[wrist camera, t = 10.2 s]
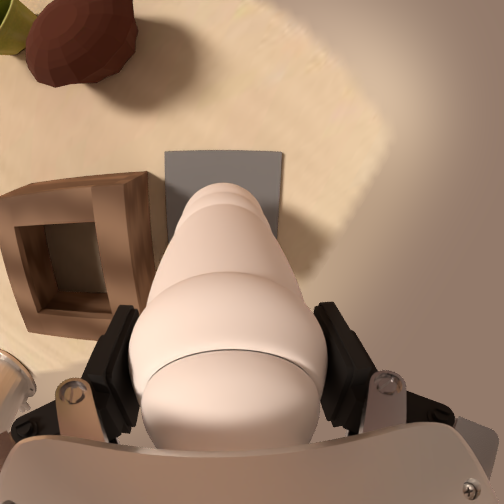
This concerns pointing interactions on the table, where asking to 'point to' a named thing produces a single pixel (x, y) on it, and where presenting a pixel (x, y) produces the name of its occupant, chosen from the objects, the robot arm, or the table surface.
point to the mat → (222, 179)
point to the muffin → (81, 41)
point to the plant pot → (14, 26)
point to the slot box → (109, 242)
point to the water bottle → (227, 335)
